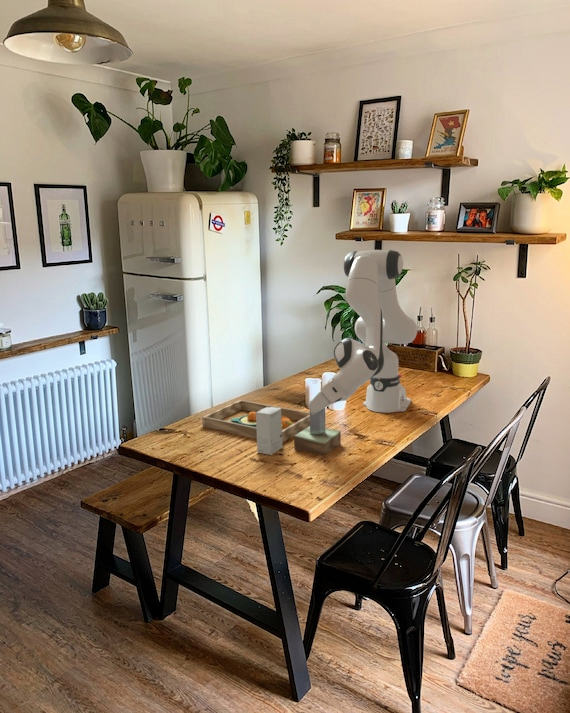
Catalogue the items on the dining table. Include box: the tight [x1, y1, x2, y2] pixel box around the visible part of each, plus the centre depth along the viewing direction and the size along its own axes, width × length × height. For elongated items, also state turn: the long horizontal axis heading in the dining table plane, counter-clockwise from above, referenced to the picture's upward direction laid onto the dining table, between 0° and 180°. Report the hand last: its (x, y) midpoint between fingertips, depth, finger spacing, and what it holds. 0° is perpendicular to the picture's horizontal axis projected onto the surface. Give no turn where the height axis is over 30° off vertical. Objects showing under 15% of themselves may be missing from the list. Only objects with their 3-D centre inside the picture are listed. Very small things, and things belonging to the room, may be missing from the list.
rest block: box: [293, 426, 342, 457], centre depth 216 cm, size 12×12×5 cm
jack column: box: [309, 400, 327, 436], centre depth 214 cm, size 4×4×12 cm
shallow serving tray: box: [201, 399, 310, 443], centre depth 239 cm, size 25×36×4 cm
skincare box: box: [256, 407, 283, 456], centre depth 212 cm, size 8×6×15 cm
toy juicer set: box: [227, 411, 293, 430], centre depth 236 cm, size 29×18×8 cm, turn 59°
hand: (315, 410), depth 213 cm, fingers closed on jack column, 4 cm apart
